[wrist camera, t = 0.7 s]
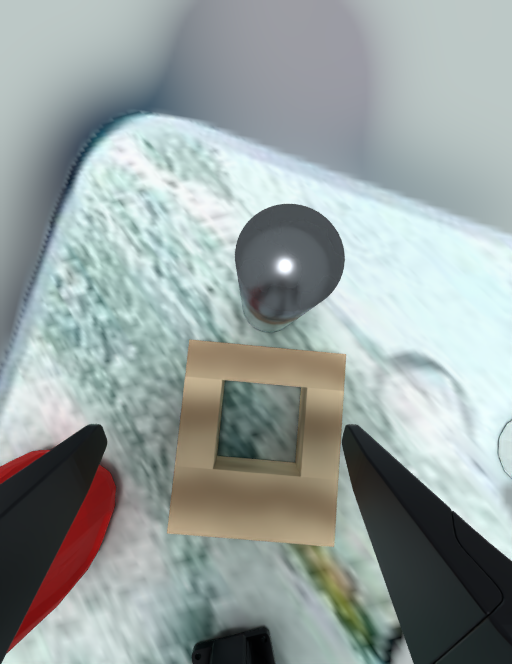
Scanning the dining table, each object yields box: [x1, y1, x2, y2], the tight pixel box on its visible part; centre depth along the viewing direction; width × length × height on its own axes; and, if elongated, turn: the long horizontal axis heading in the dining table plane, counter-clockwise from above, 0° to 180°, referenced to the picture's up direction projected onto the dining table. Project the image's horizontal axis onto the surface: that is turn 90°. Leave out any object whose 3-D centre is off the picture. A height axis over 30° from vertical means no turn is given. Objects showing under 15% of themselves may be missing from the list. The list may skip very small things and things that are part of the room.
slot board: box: [167, 340, 346, 547], centre depth 21 cm, size 15×13×2 cm
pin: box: [235, 204, 345, 332], centre depth 17 cm, size 5×5×12 cm
